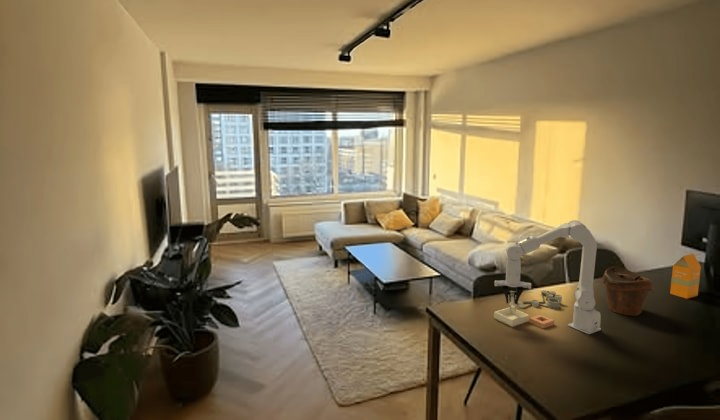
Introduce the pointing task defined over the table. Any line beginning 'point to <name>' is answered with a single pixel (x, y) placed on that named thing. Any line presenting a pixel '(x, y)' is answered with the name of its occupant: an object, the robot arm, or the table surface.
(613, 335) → the table surface
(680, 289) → the orange juice
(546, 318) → the block
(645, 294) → the terracotta flower pot
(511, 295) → the pin
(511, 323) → the tray
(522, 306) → the pulley system
